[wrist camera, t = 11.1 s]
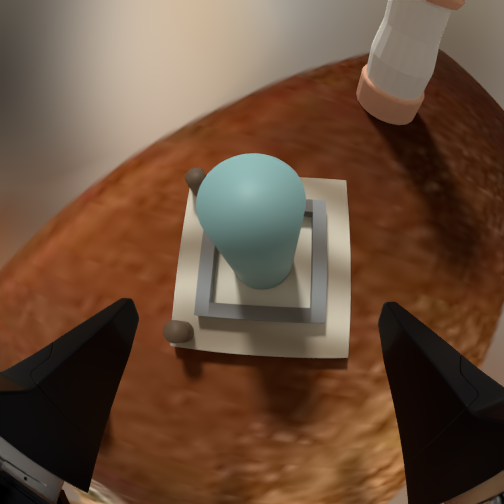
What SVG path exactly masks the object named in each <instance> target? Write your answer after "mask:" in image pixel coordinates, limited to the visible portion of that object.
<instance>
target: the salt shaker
mask: <svg viewBox="0 0 504 504" xmlns="http://www.w3.org/2000/svg"><path fill="white" fill-rule="evenodd" d="M464 3H465V0H388V4H387V8H386V12H385V17H384V19H383V21H382V23H381V25H380V28H379V30H378V32H377V34H376V36H375V38H374V40H373V43H372V46H371V50H370V55H369V60H368V64H367V65H366V66H364V67H363V69H362V73H361V77H360V81H359V85H358V89H357V93H356V95H357V99H358V101H359V103H360V104H361V106H362V107H363V108H364V109H365V110H366V111H367V112H368V113H369V114H371V115H372V116H374V117H376V118H377V119H379V120H381V121H384V122H387V123H389V124H395V125H404V124H408V123H410V122H412V120H413V118H414V117H415V115H416V113H417V111H418V109H419V107H420V105H421V103H422V101H423V99H424V89H425V87H426V86H427V84H428V82H429V80H430V78H431V76H432V74H433V71H434V67H435V63H436V58H437V53H438V48H439V43H440V40H441V38H442V35H443V32H444V29H445V27H446V24H447V22H448V19H449V16H450V13H451V10H458V9H459V8H460V7H462V5H464Z"/></svg>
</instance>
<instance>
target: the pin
mask: <svg viewBox="0 0 504 504" xmlns="http://www.w3.org/2000/svg"><path fill="white" fill-rule="evenodd" d="M305 208H306V194H305V190H304V186H303V184H302V181H301V180H300V178H299V176H298V175H297V174H296V172H295V171H294V170H293V169H292V168H291V167H290V166H289V165H287V164H286V163H284V162H283V161H281V160H279V159H277V158H275V157H272V156H269V155H264V154H254V153H253V154H243V155H238V156H234V157H232V158H229V159H227V160H225V161H223V162H221V163H220V164H218V165H217V166H216V167H215V168H213V169H212V170H211V171H210V172H209V173H208V174H207V176H206V177H205V179H204V180H203V182H202V184H201V185H200V188H199V191H198V194H197V199H196V212H197V216H198V220H199V222H200V224H201V226H202V228H203V230H204V231H205V233H206V234H207V235H208V237H209V238H210V239H211V241H212V242H213V244H214V245H215V246H216V248H217V249H218V251H219V252H220V253H221V255H222V256H223V257H224V259H225V260H226V261H227V263H228V264H229V266H230V267H231V268H232V270H233V271H234V272H235V274H236V275H237V276H238V278H239V279H240V280H241V281H242V282H243V283H244V284H246V285H247V286H249V287H252V288H255V289H261V290H262V289H270V288H273V287H276V286H278V285H279V284H281V283H282V282H283V281H284V280H285V279H286V278H287V276H288V275H289V273H290V271H291V268H292V264H293V260H294V256H295V252H296V248H297V243H298V239H299V235H300V230H301V226H302V221H303V217H304V212H305Z"/></svg>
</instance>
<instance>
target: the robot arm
mask: <svg viewBox="0 0 504 504" xmlns="http://www.w3.org/2000/svg"><path fill="white" fill-rule="evenodd" d="M138 322H139V316H138V313H137V310H136V307H135V304H134V301H133V300H132V299H130V298H121V299H119V300H118V301H116V302H115V303H113V304H111V305H110V306H108V307H107V308H105V309H103V310H102V311H100V312H99V313H97V314H95V315H94V316H92V317H91V318H89V319H88V320H86V321H84V322H83V323H81V324H80V325H78V326H77V327H75V328H74V329H72V330H70V331H69V332H67V333H66V334H64V335H63V336H61V337H60V338H58V339H57V340H55V341H54V342H52V343H50V344H49V345H47V346H46V347H44V348H43V349H41V350H40V351H38V352H36V353H35V354H33V355H31V356H30V357H28V358H26V359H24V360H23V361H21V362H19V363H17V364H15V365H14V366H12V367H10V368H8V369H7V370H5V371H2V372H0V504H70V503H69V501H68V499H67V497H66V495H65V492H64V490H62V486H63V483H64V481H65V482H67V483H69V484H70V485H72V486H74V487H76V488H78V489H80V490H82V491H84V492H86V493H88V491H89V487H90V483H91V479H92V475H93V471H94V467H95V463H96V459H97V455H98V451H99V447H100V444H101V440H102V437H103V433H104V430H105V426H106V423H107V420H108V417H109V413H110V410H111V407H112V404H113V401H114V398H115V395H116V392H117V389H118V386H119V383H120V380H121V378H122V375H123V372H124V369H125V366H126V364H127V361H128V358H129V355H130V352H131V348H132V344H133V340H134V336H135V333H136V329H137V325H138ZM378 327H379V333H380V339H381V346H382V352H383V359H384V364H385V369H386V373H387V377H388V381H389V385H390V390H391V394H392V399H393V403H394V408H395V413H396V418H397V423H398V428H399V434H400V440H401V446H402V453H403V459H404V468H405V476H406V485H407V495H408V504H443V503H444V504H504V387H503V386H501V385H500V384H499V383H497V382H496V381H495V380H493V379H492V378H490V377H489V376H487V375H486V374H485V373H484V372H482V371H481V370H480V369H478V368H477V367H476V366H475V365H473V364H472V363H471V362H470V361H468V360H467V359H466V358H465V357H464V356H463V355H460V353H459V352H458V351H456V350H455V349H454V348H453V347H452V346H450V345H449V344H448V343H447V342H446V341H444V340H443V339H442V338H441V337H439V336H438V335H437V334H436V333H434V332H433V331H432V330H431V329H430V328H428V327H427V326H426V325H424V324H423V323H422V322H421V321H419V320H418V319H417V318H416V317H414V316H413V315H412V314H410V313H409V312H408V311H407V310H405V309H404V308H403V307H401V306H400V305H399V304H398V303H396V302H385V303H384V304H383V307H382V311H381V314H380V317H379V321H378Z"/></svg>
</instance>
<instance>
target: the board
mask: <svg viewBox="0 0 504 504" xmlns="http://www.w3.org/2000/svg"><path fill="white" fill-rule="evenodd" d="M205 177H206V174H205V172H204V170H203V169H201V168H198V167H196V168H192V169H190V170H189V171H188V172H187V173H186V175H185V180H186V182H187V184H188V186H189V187H190V190H189V196H188V201H187V207H186V213H185V220H184V226H183V232H182V239H181V246H180V253H179V261H178V269H177V277H176V285H175V294H174V304H173V314H172V320H171V321H168V322H167V323H166V324H165V326H164V329H163V334H164V337H165V338H166V340H167V341H169V342H170V346H174V347H181V348H188V349H196V350H204V351H212V352H222V353H232V354H243V355H256V356H273V357H296V358H348V350H349V332H350V301H351V263H350V232H349V214H348V199H347V187H346V180H334V179H319V178H302V177H299V178H300V180H301V181H302V184H303V186H304V190H305V194H306V208H305V212H304V217H303V221H302V226H301V230H300V235H299V239H298V243H297V248H296V252H295V256H294V260H293V264H292V268H291V271H290V273H289V275H288V276H287V278H286V279H285V280H284V281H283V282H282V283H281V284H279V285H278V286H276V287H273V288H270V289H262V290H261V289H255V288H252V287H249V286H247V285H246V284H244V283H243V282H242V281H241V280H240V279H239V278H238V276H237V275H236V274H235V272H234V271H233V270H232V268H231V267H230V266H229V264H228V263H227V261H226V260H225V259H224V257H223V256H222V255H221V253H220V252H219V251H218V249H217V248H216V246H215V245H214V244H213V242H212V241H211V239H210V238H209V237H208V235H207V234H206V233H205V231H204V230H203V228H202V226H201V224H200V222H199V220H198V216H197V212H196V199H197V194H198V191H199V188H200V185H201V184H202V182H203V180H204V179H205Z"/></svg>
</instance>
